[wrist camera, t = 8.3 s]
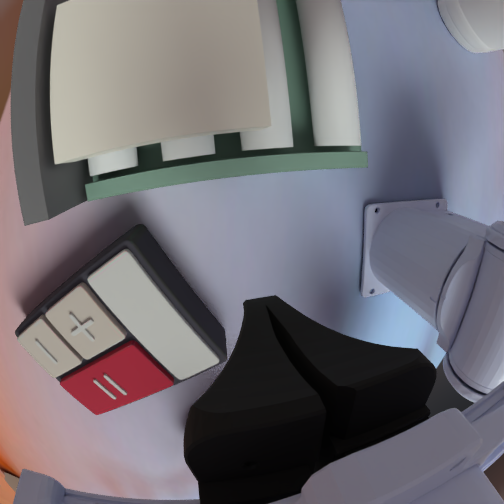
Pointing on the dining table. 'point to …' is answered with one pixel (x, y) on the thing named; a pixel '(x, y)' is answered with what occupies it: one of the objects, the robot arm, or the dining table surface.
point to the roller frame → (202, 147)
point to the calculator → (123, 327)
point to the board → (154, 73)
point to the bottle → (475, 23)
